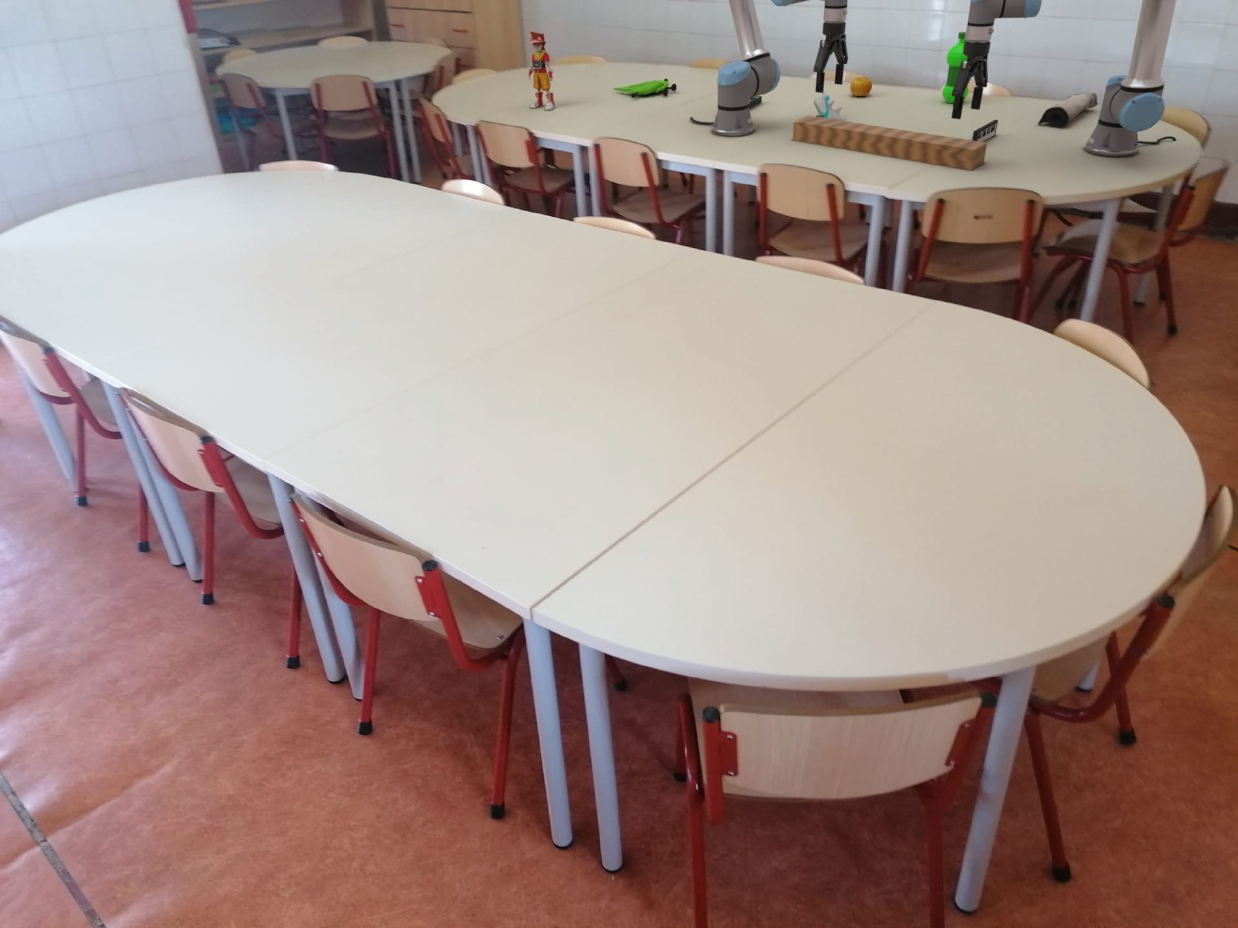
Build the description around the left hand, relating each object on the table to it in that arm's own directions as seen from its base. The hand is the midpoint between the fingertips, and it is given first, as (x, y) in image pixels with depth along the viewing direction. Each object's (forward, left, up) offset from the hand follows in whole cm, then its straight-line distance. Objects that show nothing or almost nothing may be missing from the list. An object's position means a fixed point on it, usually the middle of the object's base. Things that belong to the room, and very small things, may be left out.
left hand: (828, 88), depth 313 cm
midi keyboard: (+52, +14, -17) cm, 56 cm away
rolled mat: (+73, +54, -17) cm, 93 cm away
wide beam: (+24, -8, -17) cm, 30 cm away
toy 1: (-128, +5, -17) cm, 129 cm away
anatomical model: (-8, +25, -17) cm, 32 cm away
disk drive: (-47, +33, -17) cm, 60 cm away
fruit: (-8, +64, -17) cm, 67 cm away
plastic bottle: (+30, +65, -17) cm, 73 cm away
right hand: (+50, -14, -2) cm, 52 cm away
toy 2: (-100, +43, -17) cm, 111 cm away
